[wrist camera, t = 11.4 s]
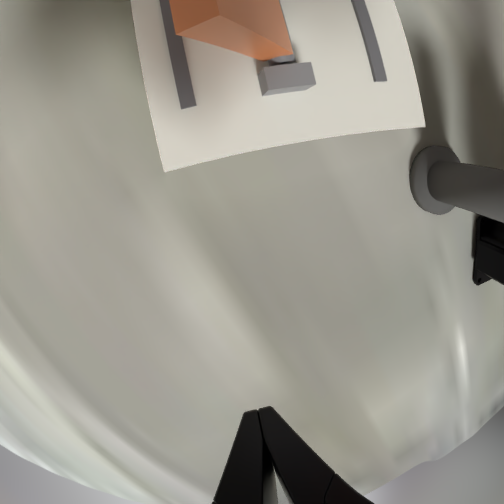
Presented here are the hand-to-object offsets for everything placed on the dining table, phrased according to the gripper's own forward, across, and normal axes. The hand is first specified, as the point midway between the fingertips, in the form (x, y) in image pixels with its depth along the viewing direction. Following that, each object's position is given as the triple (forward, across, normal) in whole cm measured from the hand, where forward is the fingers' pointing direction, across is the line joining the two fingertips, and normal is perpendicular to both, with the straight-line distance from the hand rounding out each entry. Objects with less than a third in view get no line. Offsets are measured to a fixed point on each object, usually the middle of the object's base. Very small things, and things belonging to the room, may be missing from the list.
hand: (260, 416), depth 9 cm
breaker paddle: (+9, -5, -14) cm, 17 cm away
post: (+12, -16, -3) cm, 20 cm away
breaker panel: (+12, -6, -14) cm, 19 cm away
